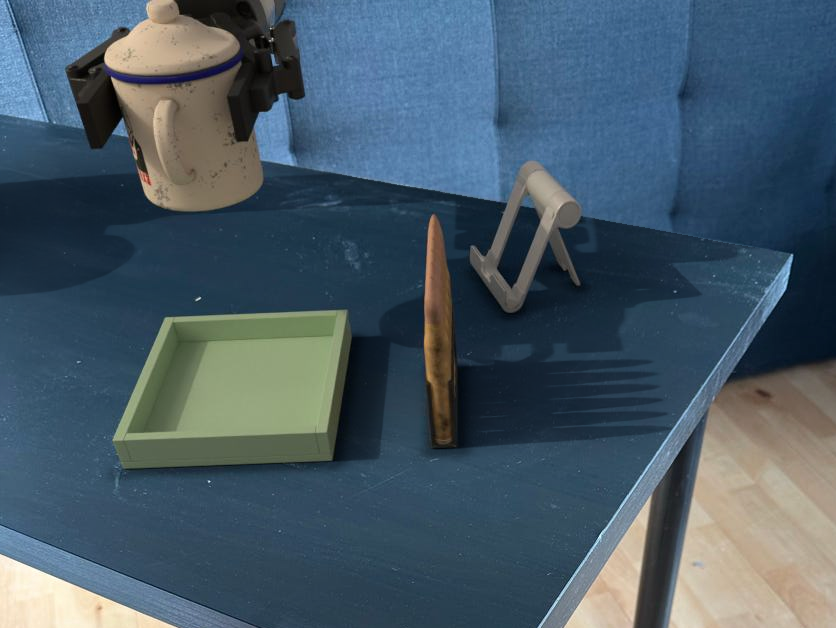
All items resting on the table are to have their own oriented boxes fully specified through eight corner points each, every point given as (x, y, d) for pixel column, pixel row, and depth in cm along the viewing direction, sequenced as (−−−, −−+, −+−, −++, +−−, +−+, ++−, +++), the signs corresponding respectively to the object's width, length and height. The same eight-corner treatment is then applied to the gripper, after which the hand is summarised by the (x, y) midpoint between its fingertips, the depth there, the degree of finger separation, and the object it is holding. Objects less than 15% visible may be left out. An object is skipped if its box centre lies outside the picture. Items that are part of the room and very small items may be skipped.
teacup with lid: (156, 167, 72) (106, -14, 63) (274, 161, 72) (241, -21, 63) (120, 236, 63) (58, 40, 55) (254, 230, 63) (212, 32, 55)
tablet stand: (470, 270, 83) (465, 171, 77) (553, 254, 84) (555, 156, 78) (501, 315, 77) (499, 213, 71) (590, 297, 79) (595, 196, 72)
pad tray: (123, 469, 65) (111, 440, 63) (173, 344, 76) (165, 316, 74) (332, 461, 64) (327, 431, 63) (352, 337, 76) (347, 309, 74)
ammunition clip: (433, 366, 72) (420, 209, 63) (457, 365, 72) (447, 207, 63) (430, 449, 65) (415, 284, 56) (457, 448, 65) (446, 283, 56)
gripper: (361, 67, 78) (340, 175, 62) (103, 80, 78) (19, 191, 63) (348, -43, 72) (322, 47, 57) (71, -29, 72) (-30, 64, 57)
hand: (163, 122), depth 60 cm, fingers closed on teacup with lid, 9 cm apart
